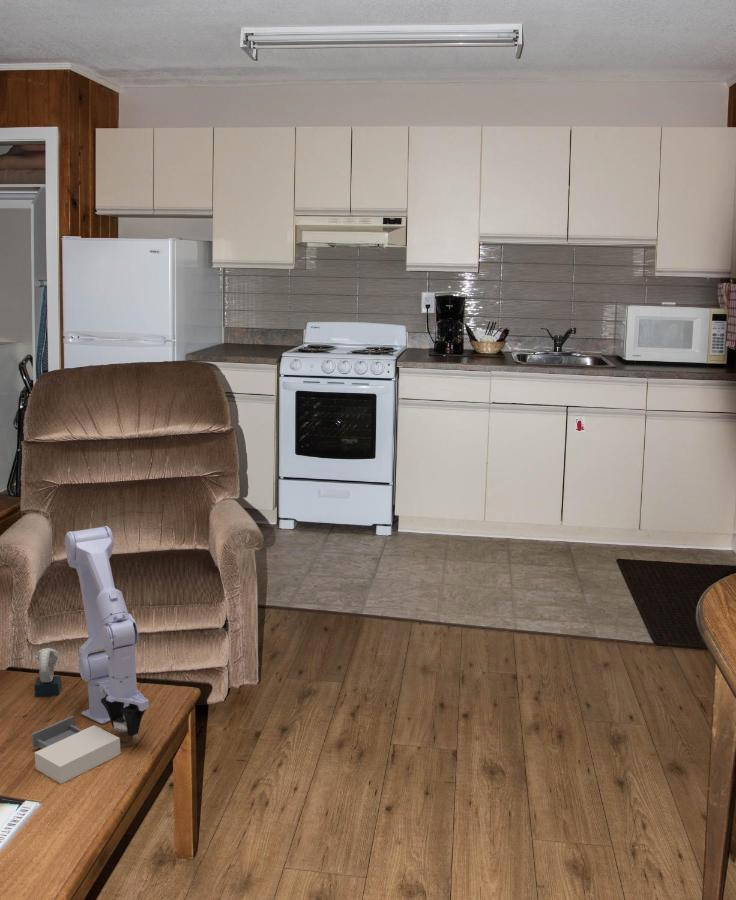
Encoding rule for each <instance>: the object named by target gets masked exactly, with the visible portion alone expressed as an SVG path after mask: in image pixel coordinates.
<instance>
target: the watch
mask: <svg viewBox="0 0 736 900" xmlns="http://www.w3.org/2000/svg"><path fill="white" fill-rule="evenodd" d="M58 658H59V652H58V651H57V650H56V649H53V648H50V647H47V648H42V649H39V651H37V655H35V660H38V663H39V664H38V665H39V667H38V668H39V672H38V673H39V674H38V675H39V677H37V678H36V681H35V683H34V697H35V698H42V697H56V696H58V695H59V696H60V694H59V693H61V691H60V690H62V676H61V675H56V676H55V675H54V673H55V665H56V664H57V661H58ZM59 696H58V697H59Z"/></svg>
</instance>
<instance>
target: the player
mask: <svg viewBox="0 0 736 900" xmlns="http://www.w3.org/2000/svg"><path fill="white" fill-rule="evenodd" d="M120 755H121V748H120V738H119V737H117V735H114V734H113V733H112V732H111V733H110V732H109V731H107V730H104V728H101V727H98V726H97V725H91V726H89V727H86V728H85V729H82V731H80V732H78V733H76V734H74V735H71V736H69V737H67V738H65V739H63V740H61V741H58V742H56V743H54V744H52V745H50V746H48V747H45V748H43V749H41V748H40V749H39V750H37V751H35V752H34V762H35V763H34V764H35V769H36V771H38V772H40V773H42V774H43V775H45V776H47V777H48V778H50V779H52V780H54V781H56V782H57V783H59V784H61V785H62V784H64V783H66V782H68V781H70V780H72V779H74V778H76V777H78V776H79V775H82V774H84V773H86V772H89V771H90V770H91V769H94V768H95V767H98V766H99V765H102V764H104V763H105V762H107V761H109V760H112V759H113V758H114V759H115V758H116V757H118V756H120Z"/></svg>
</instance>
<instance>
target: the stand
mask: <svg viewBox="0 0 736 900" xmlns="http://www.w3.org/2000/svg"><path fill="white" fill-rule="evenodd" d="M116 736H117V737H119V738H120V749H121V748H123V749H125V748H131V747H134V746H135V745H137V744H138V743H139V742H140V736H139V735H138V733H137V734H135V735H133V736H129V734H128V732H118V734H117V735H116Z"/></svg>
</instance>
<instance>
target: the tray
mask: <svg viewBox="0 0 736 900" xmlns="http://www.w3.org/2000/svg"><path fill="white" fill-rule="evenodd" d="M75 721H76V720H75V716H74V715H70V716H69V717H66V718H65V719H62V720H60V721H57V722H55V723H52V724H50V725H48V726H46V727H44V728H42V729H40V730H37V731H35V732H32V733H31V734H30V735H31V747H32V748H33V749H35V748H39V749H40V750H41V749H43V748H45V747H48V746H50V745H52V744H54V743H56V742H58V741H61V740H63V739H65V738H67V737H69V736H71V735H74V734H76V733H78V732H80V731H82V730H83V729H81V728H79V727H78V726H76V722H75Z"/></svg>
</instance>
